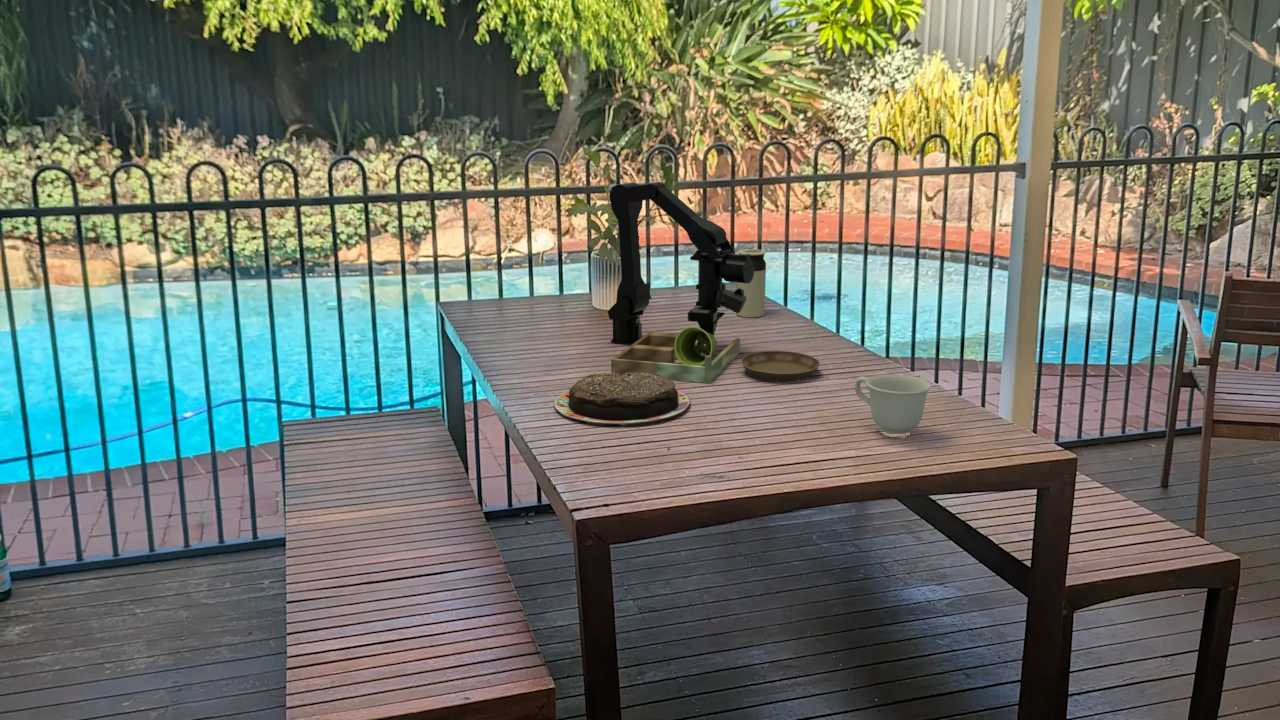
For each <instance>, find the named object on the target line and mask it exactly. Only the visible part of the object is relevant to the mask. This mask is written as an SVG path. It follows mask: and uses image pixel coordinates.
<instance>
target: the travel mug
mask: <svg viewBox="0 0 1280 720" xmlns="http://www.w3.org/2000/svg"><path fill="white" fill-rule="evenodd" d="M737 252H738V253H737V254H750V260H752V262H753V267H754V276H753V279H752V281H751V282H750V283H749V284H747V283H738V282H736V290H737V289H738V288H740V289H743V290H744V296H746V302H745V304H744V306H743V309H742V311H740V312H739V313H736V312H735V314H736V315H737V316H739V317H741V318H747V319H753V318H755V319H756V318H760V317H763V316H764V315H765V313H766V310H765V309H766V307H765V306H766V277H767V275H766V273H767V271H766V270H767V263H766V260H765V259H764V257H765V254H766V251H765V250H762V249H753V248H750V249H748V248H747V249H740V250H738V251H737Z"/></svg>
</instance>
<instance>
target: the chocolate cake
mask: <svg viewBox="0 0 1280 720" xmlns="http://www.w3.org/2000/svg"><path fill="white" fill-rule="evenodd" d="M690 403H691V400H690V397H688V395H686V394H685V393H684V392H681V391H679V390H677V389H676V384H675V382H674V381H673V380H668V379H666V378H664V377H663V376H660V375H659V374H657V373H654V372H652V373H649V374H648V373H642V372H641V373H636V372H631V373H624V374H623V373H621V374H616V373H615V372H613V373H598V374H597V373H593V374H589V375H586V376H585V377H583V378H582V379H579V380H578V381H576V382H575V383H574V384H573V385H572V386H571V388H570V389H569V390H568V391H566V392H563V393H561V394H560V395H558V396H557V398H555V400H554V403H553V404H554V405H553V406H554V408H555V409H556V411H558V412H559V413H560V414H561V415H562V416H563V417H565V418H566V419H568V420H575V421H580V422H585V423H587V424H588V425H590V426H607V425H609V426H610V425H611V426H612V425H613V426H616V425H618V426H623V427H626V428H627V427H628V428H629V427H639V426H645V425H654V424H659V423H664V422H668V421H670V419H671V418H673V417H678V416H679V417H680V416H682V415H683V413H684V412H685V411H686V410H687V409H689V407H690Z"/></svg>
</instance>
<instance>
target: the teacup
mask: <svg viewBox="0 0 1280 720" xmlns="http://www.w3.org/2000/svg"><path fill="white" fill-rule="evenodd" d="M861 383H864V384H865V387H866V390H868V391H869V397H870V398H869V397H868V396H867V395H865V394H864V393H863V391H862V388H861ZM932 388H933V386H932V383H931V382H929V381H928V380H926V379H924V378H921V377H919V376H913V375H907V374H891V373H889V374H879V375H874V376H871V377H869V378H868V377H867V376H860V377H858V378H857V379H856V381H855V383H854V391H855V394H856V395H857V397H858V398H859V399H860V400H862V401H863V402H865V403H866V404H868V406H869V407H870V411H871V417H872V420H873V422H874V423H875V424H876V425H877V426H878V427H879V428H880V430H882V431H883V432H886V433H889V434H906V433H909V432H910V431H911V430H913V429H915V428H917V427H918V426H919V425H920V423H921V421H922V417H923V414H924V409H925V403H926V400H927V399H926V398H927V395H928V392H929V391H930V390H931V389H932ZM911 432H912V431H911Z"/></svg>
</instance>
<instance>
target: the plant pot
mask: <svg viewBox="0 0 1280 720" xmlns="http://www.w3.org/2000/svg"><path fill="white" fill-rule="evenodd" d="M677 334H678V335H677V337H676V340H675V344H674V349H675V354H676V356H677V359H678V361H679V362H680V363H681V364H684V365H695V366H705V356H706V355H708V356H714V355H715V354H716V352H717V351H718V341H717V339H716V337H715V335H714V336H713V335H712V334H710V333H707V332H705V331H704V330H703V329H701V328H700V327H699V326H698V327H697V326H687V327H686V328H683V329H682V330H680V332H679V333H677ZM705 335H707V336H705Z"/></svg>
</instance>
